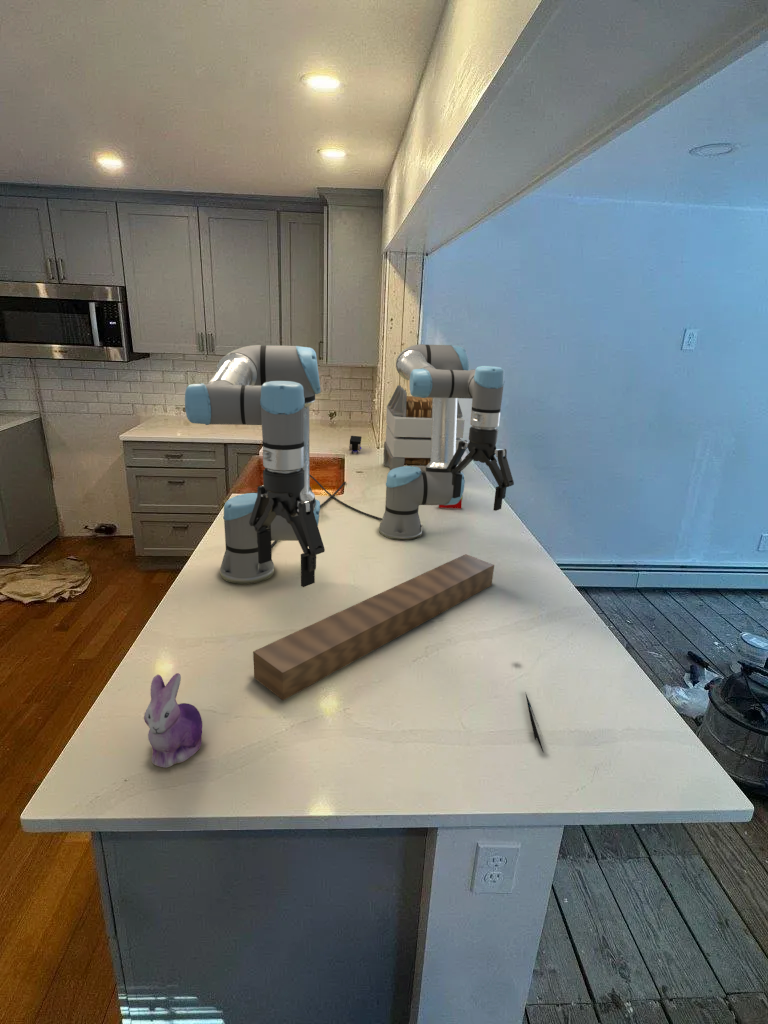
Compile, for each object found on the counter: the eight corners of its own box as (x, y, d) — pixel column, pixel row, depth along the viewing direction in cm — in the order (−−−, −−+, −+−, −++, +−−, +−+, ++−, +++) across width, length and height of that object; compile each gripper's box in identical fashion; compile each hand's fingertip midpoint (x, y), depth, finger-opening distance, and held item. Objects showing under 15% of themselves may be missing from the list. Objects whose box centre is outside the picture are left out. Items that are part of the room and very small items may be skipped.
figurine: (152, 779, 93) (143, 704, 88) (145, 738, 102) (136, 668, 97) (210, 760, 98) (205, 688, 92) (199, 723, 106) (193, 655, 101)
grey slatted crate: (382, 463, 289) (386, 382, 275) (445, 464, 293) (451, 384, 279) (390, 482, 257) (394, 392, 243) (460, 483, 261) (468, 394, 247)
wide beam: (463, 573, 172) (465, 553, 170) (491, 585, 165) (494, 564, 163) (254, 678, 120) (252, 651, 118) (283, 700, 113) (282, 672, 111)
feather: (517, 669, 129) (522, 662, 128) (543, 757, 102) (550, 750, 102) (511, 665, 129) (516, 659, 128) (535, 752, 102) (542, 745, 101)
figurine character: (361, 457, 304) (361, 447, 317) (361, 444, 301) (362, 434, 314) (348, 456, 304) (349, 447, 317) (348, 443, 300) (349, 434, 314)
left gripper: (228, 457, 109) (233, 557, 116) (311, 487, 93) (311, 601, 101) (260, 451, 115) (264, 548, 122) (345, 479, 99) (342, 588, 106)
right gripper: (438, 421, 155) (432, 494, 162) (518, 437, 139) (508, 518, 146) (454, 418, 160) (448, 489, 167) (533, 433, 144) (523, 512, 151)
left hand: (285, 572), depth 111 cm, fingers open, 13 cm apart
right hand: (476, 503), depth 157 cm, fingers open, 13 cm apart
